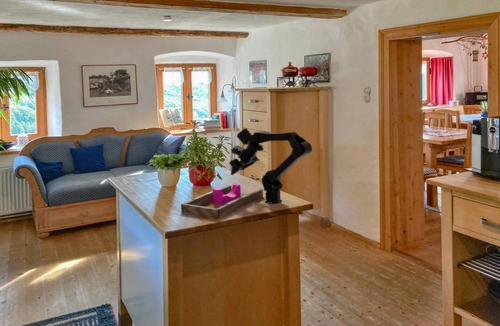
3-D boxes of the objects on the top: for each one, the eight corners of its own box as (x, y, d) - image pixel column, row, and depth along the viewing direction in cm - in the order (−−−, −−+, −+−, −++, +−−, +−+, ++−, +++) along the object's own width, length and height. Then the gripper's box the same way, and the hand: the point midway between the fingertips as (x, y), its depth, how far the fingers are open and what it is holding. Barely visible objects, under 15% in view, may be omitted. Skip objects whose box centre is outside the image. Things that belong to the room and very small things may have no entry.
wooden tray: (262, 196, 235) (262, 188, 234) (217, 218, 201) (217, 209, 200) (229, 192, 246) (229, 184, 245) (181, 212, 212) (180, 203, 211)
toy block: (221, 205, 222) (220, 191, 220) (213, 203, 226) (212, 188, 225) (244, 199, 231) (243, 185, 230) (236, 197, 236) (235, 183, 234)
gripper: (249, 136, 238) (235, 157, 247) (229, 144, 223) (215, 166, 232) (264, 150, 235) (250, 171, 244) (244, 159, 220) (230, 181, 229)
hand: (236, 172), depth 237 cm, fingers open, 9 cm apart
